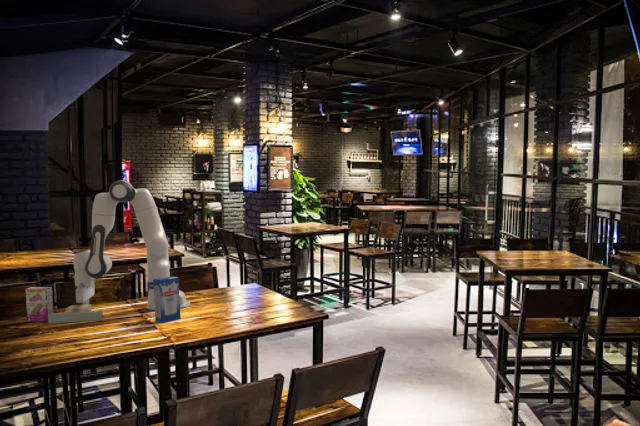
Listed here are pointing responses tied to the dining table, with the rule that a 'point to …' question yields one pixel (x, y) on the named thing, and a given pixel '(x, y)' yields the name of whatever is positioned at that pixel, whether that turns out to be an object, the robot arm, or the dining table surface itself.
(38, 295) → the candy bar box
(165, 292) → the milk carton
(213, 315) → the dining table surface
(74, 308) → the block
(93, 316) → the pale grey bar
